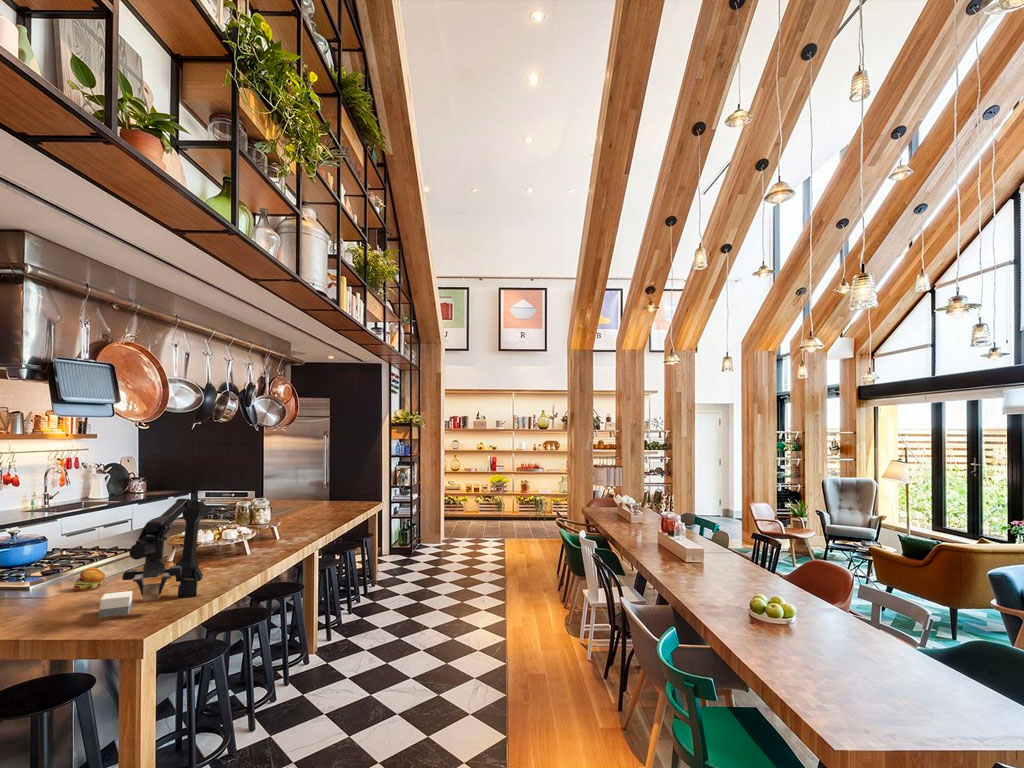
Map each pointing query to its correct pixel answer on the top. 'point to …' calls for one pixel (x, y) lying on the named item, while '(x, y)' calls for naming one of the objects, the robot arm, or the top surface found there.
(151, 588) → the walnut block
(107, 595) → the tower top slab
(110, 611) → the tower base slab
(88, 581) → the cheeseburger
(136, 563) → the top surface
